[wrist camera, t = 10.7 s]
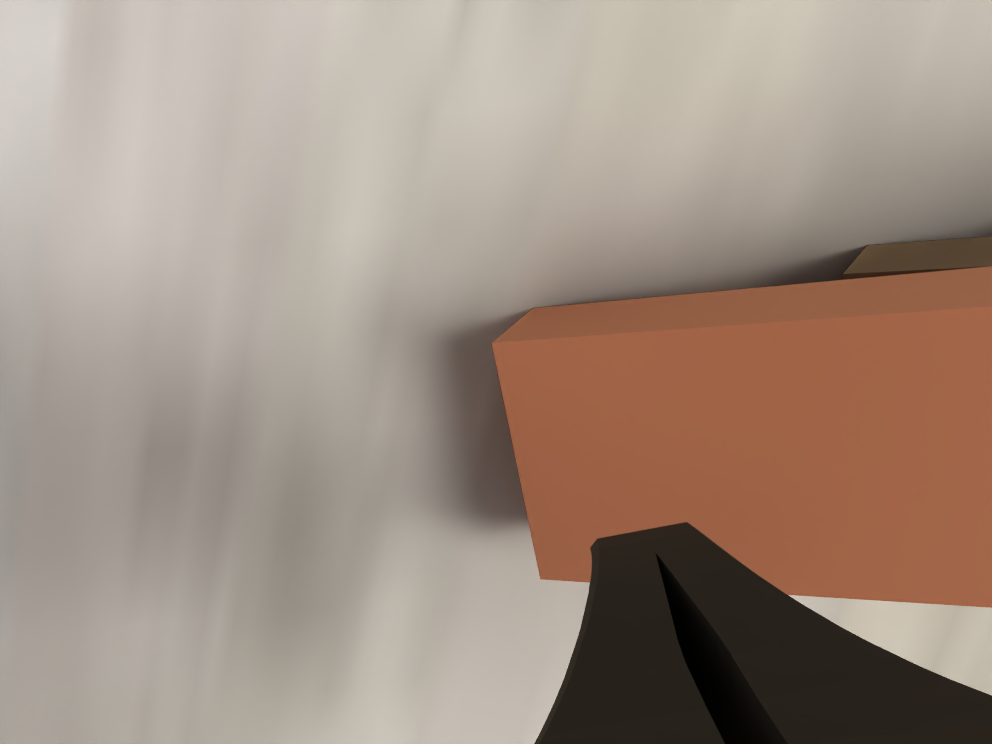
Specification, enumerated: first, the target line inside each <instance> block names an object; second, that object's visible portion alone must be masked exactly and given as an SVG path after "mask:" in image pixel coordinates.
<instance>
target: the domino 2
mask: <svg viewBox="0 0 992 744" xmlns="http://www.w3.org/2000/svg"><path fill="white" fill-rule="evenodd" d="M989 266H992V236H988V237H974V238H960V239H946V240H932V241H918V242H904V243H889V244H875V245H867V246H866V247H865V249H864V250H863V251H862V252H861V253H860V254H859V256H858V257H857V258H856V259H855V260H854V261H853V263H852V264H851V265H850V266H849V267H848V268H847V270H846V271H845V272H844V273H843V280H847V279H858V278H869V277H880V276H891V275H902V274H913V273H924V272H935V271H946V270H957V269H968V268H978V267H989Z"/></svg>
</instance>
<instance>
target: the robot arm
mask: <svg viewBox="0 0 992 744" xmlns="http://www.w3.org/2000/svg"><path fill="white" fill-rule="evenodd" d="M590 550H591V556H592V571H591V580H590V587H589V594H588V598H587V603H586V607H585V611H584V616H583V620H582V625H581V629H580V632H579V636H578V639H577V642H576V645H575V648H574V651H573V654H572V657H571V660H570V663H569V666H568V669H567V672H566V675H565V678H564V680H563V683H562V685H561V688H560V690H559V693H558V695H557V698H556V700H555V702H554V705H553V707H552V709H551V711H550V713H549V715H548V718H547V720H546V722H545V724H544V726H543V728H542V730H541V732H540V734H539V736H538V738H537V740H536V742H535V744H992V696H991V695H989V694H986V693H984V692H981V691H978V690H976V689H973V688H971V687H968V686H966V685H963V684H960V683H958V682H955V681H953V680H950V679H948V678H945V677H943V676H941V675H938V674H936V673H934V672H931V671H929V670H927V669H924V668H922V667H920V666H918V665H916V664H913V663H911V662H909V661H907V660H905V659H903V658H901V657H899V656H897V655H895V654H893V653H891V652H889V651H886V650H884V649H882V648H880V647H878V646H876V645H874V644H872V643H870V642H868V641H866V640H864V639H862V638H860V637H858V636H856V635H855V634H853V633H851V632H849V631H847V630H845V629H843V628H842V627H840V626H838V625H836V624H835V623H833V622H831V621H830V620H828V619H826V618H824V617H823V616H821V615H819V614H818V613H816V612H814V611H813V610H811V609H809V608H807V607H806V606H804V605H802V604H801V603H799V602H798V601H796V600H794V599H793V598H791V597H790V596H788V595H787V594H785V593H784V592H782V591H781V590H779V589H778V588H777V587H775V586H774V585H772V584H771V583H769V582H768V581H766V580H765V579H763V578H762V577H760V576H759V575H757V574H756V573H755V572H753V571H752V570H751V569H749V568H748V567H746V566H745V565H744V564H742V563H741V562H740V561H738V560H737V559H736V558H734V557H733V556H732V555H730V554H729V553H728V552H726V551H725V550H724V549H722V548H721V547H720V546H718V545H717V544H716V543H715V542H713V541H712V540H711V539H709V538H708V537H707V536H705V535H704V534H703V533H702V532H700V531H699V530H698V529H696V528H695V527H693V526H692V525H691V524H689V523H688V522H684V523H678V524H673V525H667V526H662V527H657V528H651V529H646V530H641V531H635V532H630V533H624V534H619V535H614V536H608V537H603V538H597V539H596V541H595V542H594V543H593V545H592V546H591V547H590Z"/></svg>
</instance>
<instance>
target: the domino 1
mask: <svg viewBox="0 0 992 744" xmlns="http://www.w3.org/2000/svg"><path fill="white" fill-rule="evenodd" d="M492 347H493V352H494V356H495V361H496V366H497V371H498V376H499V381H500V386H501V390H502V395H503V400H504V405H505V410H506V415H507V420H508V424H509V429H510V434H511V439H512V444H513V449H514V453H515V458H516V463H517V468H518V473H519V478H520V483H521V487H522V492H523V497H524V502H525V507H526V512H527V517H528V521H529V526H530V531H531V536H532V541H533V546H534V550H535V555H536V560H537V565H538V570H539V575H540V579H545V580H561V581H577V582H590V580H591V571H592V556H591V550H590V547H591V546H592V545H593V543H594V542H595V541H596V539H597V538H603V537H608V536H614V535H619V534H624V533H630V532H635V531H641V530H646V529H651V528H657V527H662V526H667V525H673V524H678V523H684V522H688V523H689V524H691V525H692V526H693V527H695V528H696V529H698V530H699V531H700V532H702V533H703V534H704V535H705V536H707V537H708V538H709V539H711V540H712V541H713V542H715V543H716V544H717V545H718V546H720V547H721V548H722V549H724V550H725V551H726V552H728V553H729V554H730V555H732V556H733V557H734V558H736V559H737V560H738V561H740V562H741V563H742V564H744V565H745V566H746V567H748V568H749V569H751V570H752V571H753V572H755V573H756V574H757V575H759V576H760V577H762V578H763V579H765V580H766V581H768V582H769V583H771V584H772V585H774V586H775V587H777V588H778V589H779V590H781V591H782V592H784V593H785V594H787V595H800V596H816V597H832V598H848V599H864V600H880V601H896V602H912V603H928V604H944V605H960V606H976V607H992V266H989V267H978V268H968V269H957V270H946V271H935V272H924V273H913V274H902V275H891V276H880V277H869V278H858V279H847V280H836V281H825V282H814V283H803V284H792V285H781V286H770V287H759V288H748V289H737V290H726V291H715V292H704V293H693V294H682V295H672V296H661V297H650V298H639V299H628V300H617V301H606V302H595V303H584V304H573V305H562V306H551V307H540V308H533V309H531V310H530V311H529V312H528V313H527V314H525V315H524V316H523V317H522V318H521V319H520V320H518V321H517V322H516V323H515V324H514V325H512V326H511V327H510V328H509V329H508V330H506V331H505V332H504V333H503V334H502V335H500V336H499V337H498V338H497V339H496V340H495V341H493V342H492Z"/></svg>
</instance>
